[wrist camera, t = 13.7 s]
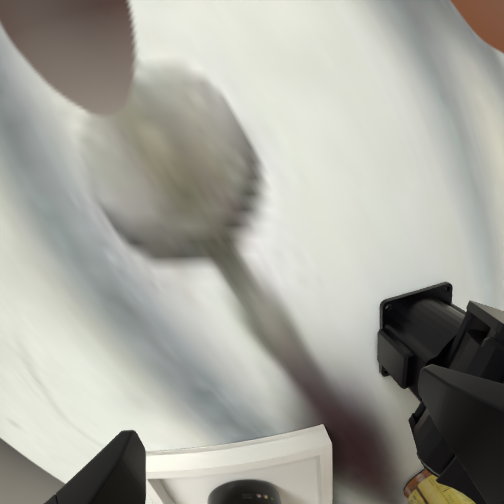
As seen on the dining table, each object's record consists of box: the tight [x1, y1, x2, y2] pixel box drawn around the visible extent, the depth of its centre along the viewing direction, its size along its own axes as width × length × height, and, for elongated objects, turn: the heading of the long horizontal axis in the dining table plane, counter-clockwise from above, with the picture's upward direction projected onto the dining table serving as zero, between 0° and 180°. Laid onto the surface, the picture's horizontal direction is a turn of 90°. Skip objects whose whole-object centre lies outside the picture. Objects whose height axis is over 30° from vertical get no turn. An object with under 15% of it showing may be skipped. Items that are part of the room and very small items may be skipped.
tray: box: [146, 424, 332, 504], centre depth 23 cm, size 16×16×2 cm
